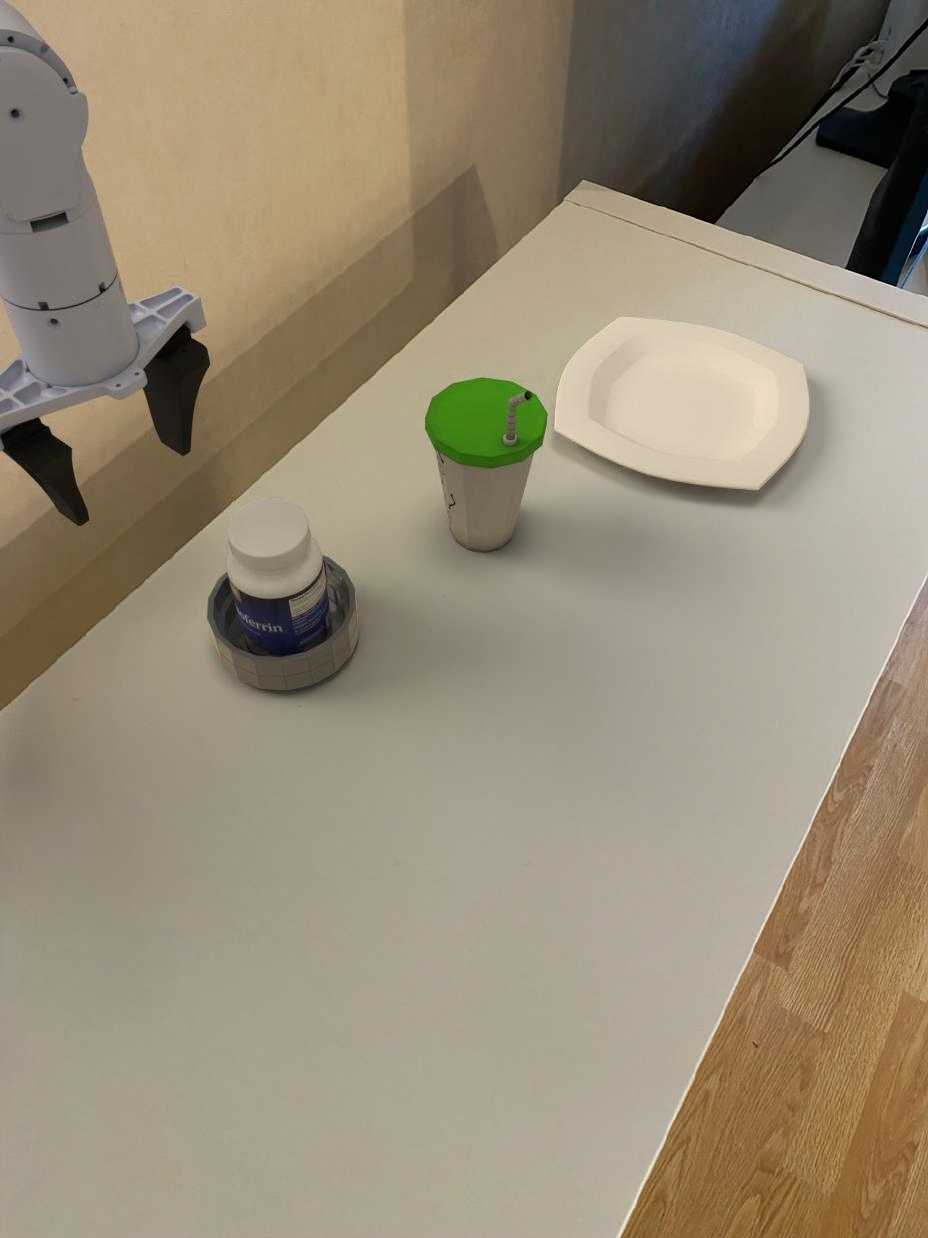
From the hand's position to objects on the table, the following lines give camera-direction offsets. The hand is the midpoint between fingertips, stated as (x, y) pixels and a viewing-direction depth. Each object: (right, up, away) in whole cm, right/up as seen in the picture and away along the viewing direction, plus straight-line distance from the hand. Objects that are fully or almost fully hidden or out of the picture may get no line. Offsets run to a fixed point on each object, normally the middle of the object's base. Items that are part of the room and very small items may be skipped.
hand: (126, 480), depth 60 cm
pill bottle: (+9, -9, +6) cm, 14 cm away
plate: (+37, +8, +20) cm, 43 cm away
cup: (+21, -2, +12) cm, 25 cm away
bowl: (+9, -9, +6) cm, 14 cm away
